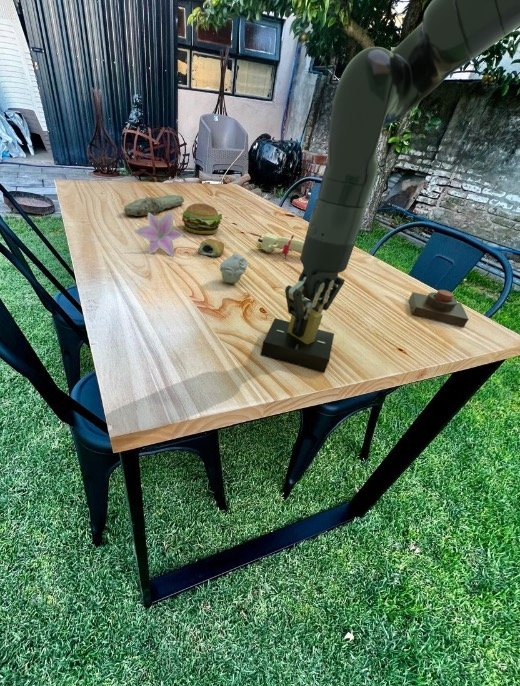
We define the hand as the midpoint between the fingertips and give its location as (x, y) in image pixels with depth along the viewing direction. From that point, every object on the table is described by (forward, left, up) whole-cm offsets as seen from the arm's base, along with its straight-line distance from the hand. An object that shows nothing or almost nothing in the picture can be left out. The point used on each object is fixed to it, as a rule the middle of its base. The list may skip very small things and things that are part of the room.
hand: (301, 333), depth 64 cm
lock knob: (0, 0, -1) cm, 1 cm away
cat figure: (+10, -55, -4) cm, 56 cm away
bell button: (-30, -36, 0) cm, 47 cm away
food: (+44, -61, -4) cm, 75 cm away
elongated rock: (+68, -75, -4) cm, 101 cm away
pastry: (+33, -42, -4) cm, 54 cm away
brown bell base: (-30, -36, -4) cm, 47 cm away
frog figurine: (+21, -24, -4) cm, 32 cm away
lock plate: (0, 0, -4) cm, 4 cm away
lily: (+46, -34, -4) cm, 57 cm away
